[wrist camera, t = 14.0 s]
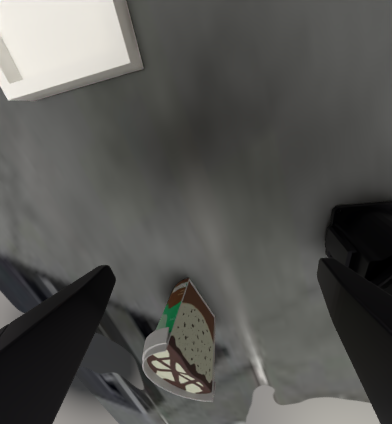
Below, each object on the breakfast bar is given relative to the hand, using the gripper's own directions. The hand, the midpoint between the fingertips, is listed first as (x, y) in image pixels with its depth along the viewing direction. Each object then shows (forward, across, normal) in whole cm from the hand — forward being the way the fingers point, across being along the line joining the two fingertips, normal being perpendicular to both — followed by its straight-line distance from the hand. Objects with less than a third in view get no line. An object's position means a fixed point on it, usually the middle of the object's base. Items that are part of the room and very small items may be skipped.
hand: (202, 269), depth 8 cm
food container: (+13, +8, +20) cm, 25 cm away
